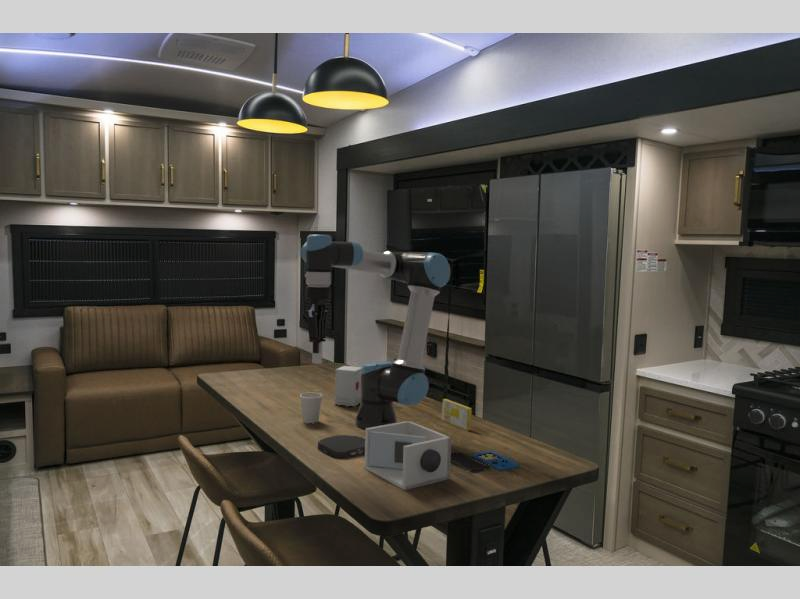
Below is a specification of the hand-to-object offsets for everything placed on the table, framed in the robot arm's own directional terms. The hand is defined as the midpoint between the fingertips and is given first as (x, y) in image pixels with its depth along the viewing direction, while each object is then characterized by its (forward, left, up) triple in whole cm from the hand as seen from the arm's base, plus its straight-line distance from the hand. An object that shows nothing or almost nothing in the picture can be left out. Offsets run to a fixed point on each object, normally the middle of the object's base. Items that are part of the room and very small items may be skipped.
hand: (317, 363), depth 193 cm
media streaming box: (-10, +6, -30) cm, 32 cm away
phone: (-9, +45, -30) cm, 55 cm away
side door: (+6, +27, -28) cm, 39 cm away
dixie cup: (-36, -16, -30) cm, 49 cm away
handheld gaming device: (-14, +54, -30) cm, 63 cm away
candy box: (-49, +36, -30) cm, 68 cm away
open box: (+5, +30, -29) cm, 42 cm away
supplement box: (-65, -11, -30) cm, 72 cm away
